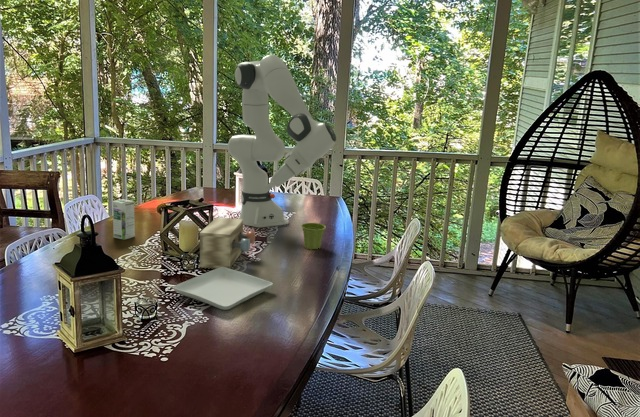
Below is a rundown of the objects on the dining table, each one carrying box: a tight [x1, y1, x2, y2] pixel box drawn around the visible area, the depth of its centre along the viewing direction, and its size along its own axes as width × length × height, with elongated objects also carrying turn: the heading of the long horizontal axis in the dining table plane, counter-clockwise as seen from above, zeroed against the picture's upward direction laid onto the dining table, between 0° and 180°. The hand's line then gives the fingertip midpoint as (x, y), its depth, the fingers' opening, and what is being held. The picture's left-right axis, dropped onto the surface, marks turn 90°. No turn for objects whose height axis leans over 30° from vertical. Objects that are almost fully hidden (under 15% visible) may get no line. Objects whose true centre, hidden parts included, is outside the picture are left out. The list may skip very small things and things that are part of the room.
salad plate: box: [172, 267, 274, 311], centre depth 142 cm, size 21×21×3 cm
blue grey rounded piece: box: [232, 238, 251, 253], centre depth 165 cm, size 7×4×4 cm, turn 86°
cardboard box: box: [199, 217, 244, 269], centre depth 170 cm, size 10×20×12 cm, turn 176°
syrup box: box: [112, 198, 136, 241], centre depth 187 cm, size 6×6×14 cm
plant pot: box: [301, 222, 327, 250], centre depth 188 cm, size 9×9×9 cm
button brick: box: [238, 230, 256, 245], centre depth 174 cm, size 7×4×4 cm, turn 86°
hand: (268, 187), depth 170 cm, fingers open, 5 cm apart
